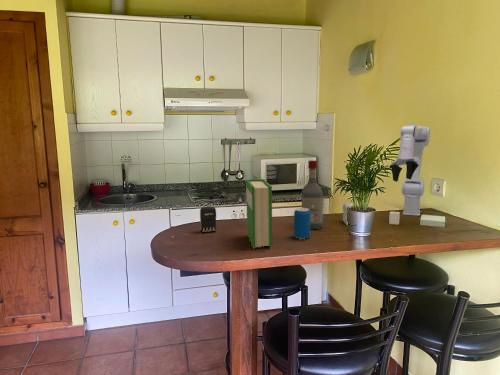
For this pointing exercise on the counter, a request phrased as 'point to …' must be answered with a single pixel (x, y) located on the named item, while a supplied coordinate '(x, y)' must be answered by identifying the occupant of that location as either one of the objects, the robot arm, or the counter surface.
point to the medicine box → (345, 212)
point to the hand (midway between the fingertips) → (401, 179)
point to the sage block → (432, 220)
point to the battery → (208, 217)
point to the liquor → (313, 198)
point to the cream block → (394, 217)
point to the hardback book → (259, 212)
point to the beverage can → (302, 223)
